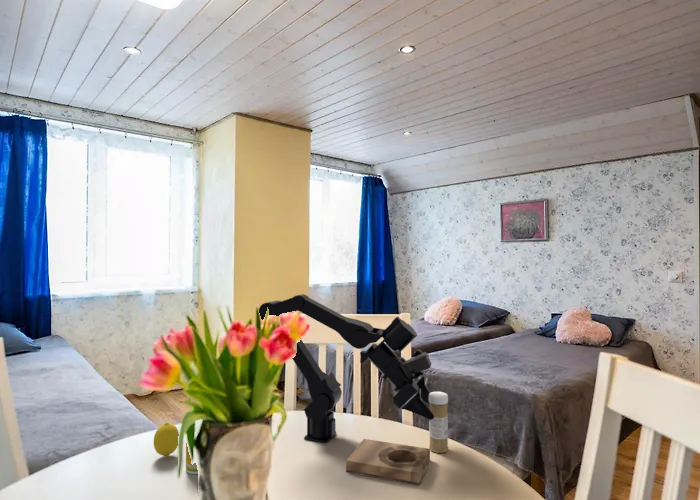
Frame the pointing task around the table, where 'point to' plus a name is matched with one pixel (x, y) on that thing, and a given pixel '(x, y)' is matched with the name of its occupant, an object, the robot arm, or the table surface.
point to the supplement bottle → (189, 467)
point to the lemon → (166, 439)
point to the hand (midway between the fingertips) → (434, 411)
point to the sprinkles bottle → (438, 422)
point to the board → (389, 461)
